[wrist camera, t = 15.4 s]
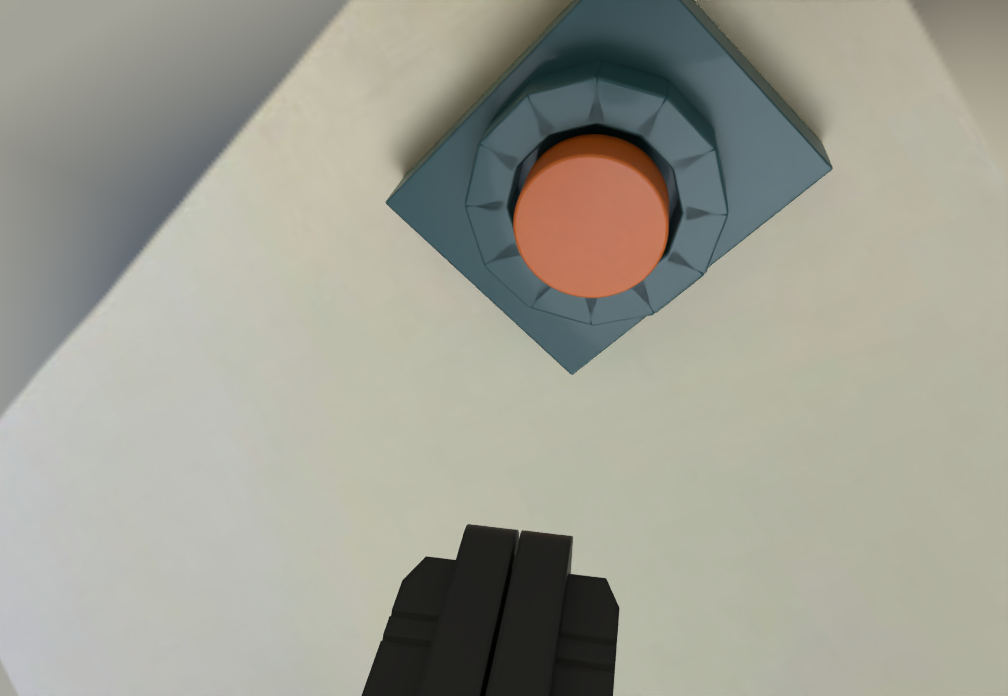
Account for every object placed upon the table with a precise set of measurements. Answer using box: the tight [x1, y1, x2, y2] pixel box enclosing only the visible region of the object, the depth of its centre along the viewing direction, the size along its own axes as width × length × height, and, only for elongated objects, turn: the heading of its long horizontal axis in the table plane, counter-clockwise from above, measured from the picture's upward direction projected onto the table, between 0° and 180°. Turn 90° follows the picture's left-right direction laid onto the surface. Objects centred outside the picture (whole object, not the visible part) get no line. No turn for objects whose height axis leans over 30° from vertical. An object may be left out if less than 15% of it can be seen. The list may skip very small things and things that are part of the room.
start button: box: [513, 134, 669, 298], centre depth 25 cm, size 4×4×2 cm
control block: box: [386, 0, 832, 375], centre depth 27 cm, size 10×8×4 cm
